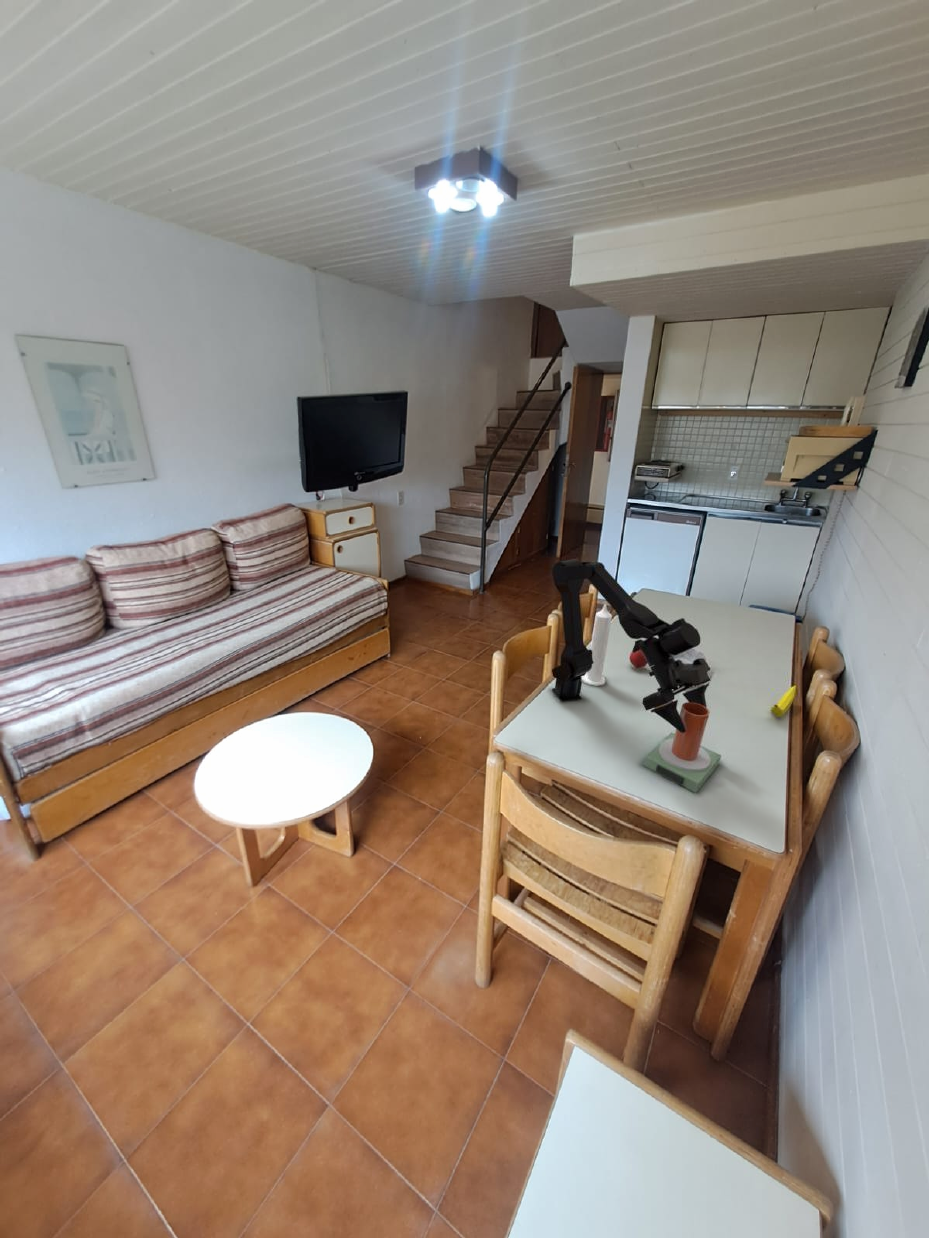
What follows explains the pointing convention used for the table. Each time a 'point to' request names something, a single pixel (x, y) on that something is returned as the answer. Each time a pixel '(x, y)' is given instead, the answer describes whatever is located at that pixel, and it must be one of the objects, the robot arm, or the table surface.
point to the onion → (638, 659)
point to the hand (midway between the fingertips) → (695, 725)
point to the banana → (784, 703)
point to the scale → (682, 764)
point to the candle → (598, 648)
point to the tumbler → (690, 731)
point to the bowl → (689, 656)
